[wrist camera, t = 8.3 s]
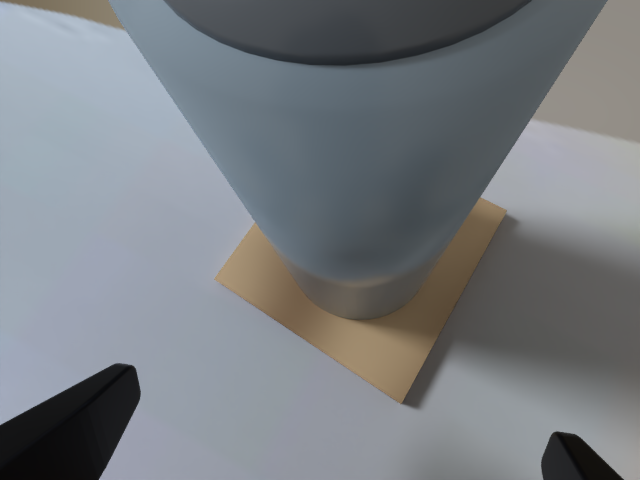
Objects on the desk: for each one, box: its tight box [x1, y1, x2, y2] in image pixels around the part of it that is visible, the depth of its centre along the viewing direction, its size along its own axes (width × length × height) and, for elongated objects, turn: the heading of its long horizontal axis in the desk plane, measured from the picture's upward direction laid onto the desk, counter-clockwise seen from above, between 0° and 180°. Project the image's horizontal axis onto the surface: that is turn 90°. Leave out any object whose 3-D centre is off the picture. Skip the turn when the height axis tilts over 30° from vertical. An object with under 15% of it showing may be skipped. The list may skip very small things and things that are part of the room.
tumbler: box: [108, 0, 607, 320], centre depth 10 cm, size 6×6×13 cm
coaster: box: [214, 198, 507, 404], centre depth 17 cm, size 9×9×1 cm
